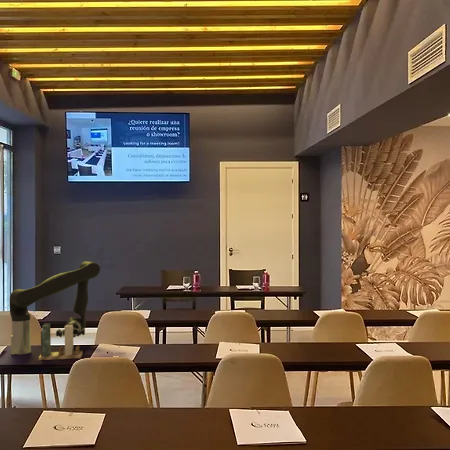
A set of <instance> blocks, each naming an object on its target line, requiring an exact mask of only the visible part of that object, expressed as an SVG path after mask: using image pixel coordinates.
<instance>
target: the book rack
mask: <svg viewBox="0 0 450 450" xmlns="http://www.w3.org/2000/svg"><path fill="white" fill-rule="evenodd" d="M51 342H52V341H51V323H50V322H47V323H46V322H45V323H43V325H42V326H41V331H40V355H39V356H38V361H44V360H45V361H47V360H66V359H67V360H69V359H70V360H71V359H81V358H82V356H83V350H80V344H77V345H76V347H75V348H74V349H75V350H73V354H72V355H65V351H64V345H61V346H60V347H59V348H58V351H52V350H51V349H52V346H51V345H52V344H51Z"/></svg>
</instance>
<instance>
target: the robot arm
mask: <svg viewBox="0 0 450 450" xmlns="http://www.w3.org/2000/svg"><path fill="white" fill-rule="evenodd" d="M100 273H101V267H100V265H99V264H98V263H97V262H94V261H88V260H87V261H86V260H85V261H82V262H81V264H80V265H79V268H78V269H75V270H72V271H71V270H70V271H65V272H61V273H58V274H55V275H52V276H50V277H49V278H47V279H45V280H43V282H41V283H40V284H38V285H36V286H33V287H31V288H30V287H29V288H26V289H22V288H17V289H14V290H12V292H11V293H10V296H9V314H10V318H11V335H10V354H11V355H15V354H17V355H18V356H19V355H28V354H31V352H32V349H31V341H32V340H31V339H32V336H31V314H30V312H29V311H28V307H29V306H31V305H32V304H34V303H36V302H38V301H40V300H41V299H44V298H47V297H49V296H52V295H55V294H57V293H59V292H62V291H64V290H66V289H69V288H70V287H73V286H75V285H77V288H76V289H77V290H76V297H75V301H74V304H73V309H72V312H73V313H74V314H76V315H79V316H80V318H79V317H75V316H73V317H69V318H68V319H67V321H66V325H73V338H76V337H79V336H81V335H82V336H85V335H86V327H87V322H86V321H87V320H86V313H87V308H88V303H89V289H88V288H89V287H88V285H89V280H91V279H94V278H96V277H97V276H99V275H100ZM55 332H56V333H55V336H56V337H59V338H62V337H65V328H63V329H62V330H61V329H60V328H58V329H57V330H56V331H55Z"/></svg>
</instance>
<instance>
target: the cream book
mask: <svg viewBox="0 0 450 450" xmlns="http://www.w3.org/2000/svg"><path fill="white" fill-rule="evenodd" d="M64 329H65V336H64V352H65V355H72V354H73V351H74V337H73V325H67V324H65V325H64Z"/></svg>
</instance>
